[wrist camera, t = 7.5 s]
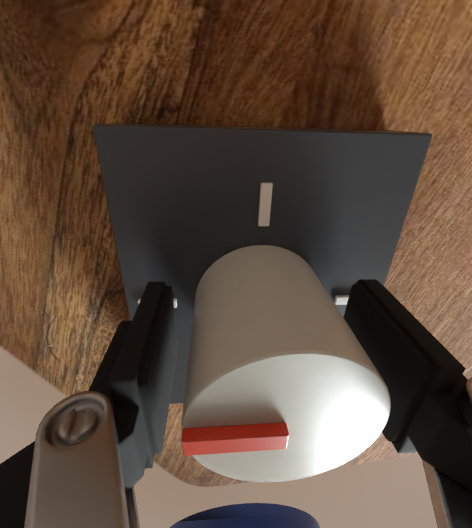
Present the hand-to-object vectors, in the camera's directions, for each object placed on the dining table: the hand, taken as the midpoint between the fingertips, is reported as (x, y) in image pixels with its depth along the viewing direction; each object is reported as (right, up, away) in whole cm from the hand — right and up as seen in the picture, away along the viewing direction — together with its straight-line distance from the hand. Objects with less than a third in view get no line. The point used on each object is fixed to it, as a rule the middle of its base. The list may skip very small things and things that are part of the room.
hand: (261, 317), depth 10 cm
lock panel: (0, +2, +3) cm, 4 cm away
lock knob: (0, 0, +1) cm, 1 cm away
